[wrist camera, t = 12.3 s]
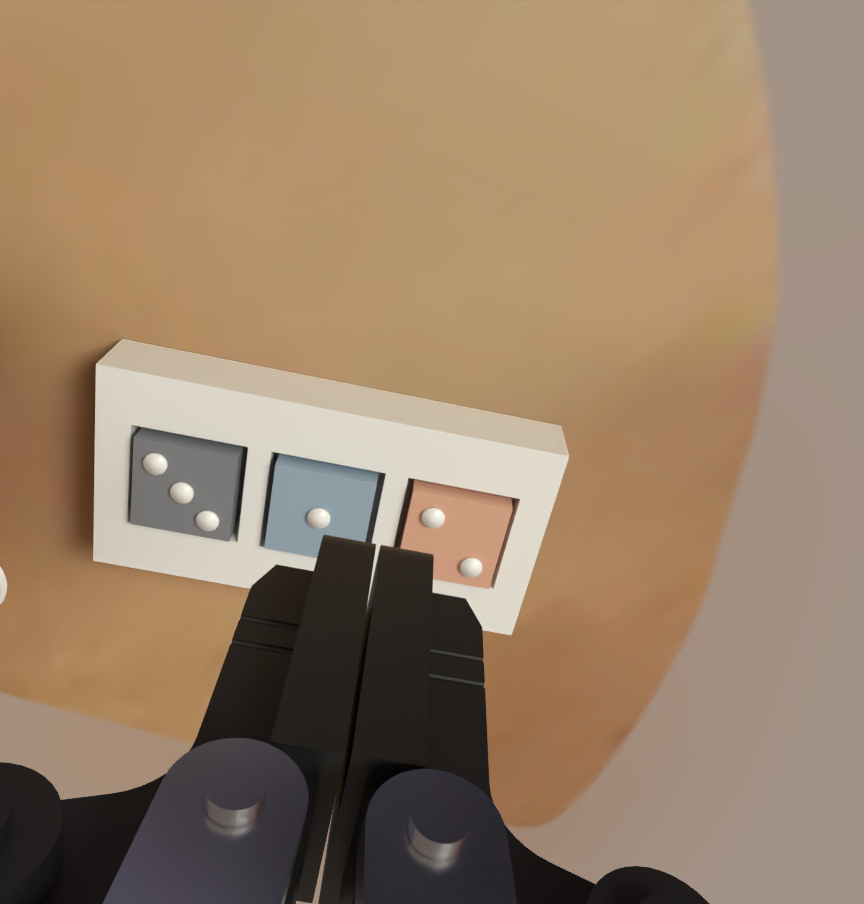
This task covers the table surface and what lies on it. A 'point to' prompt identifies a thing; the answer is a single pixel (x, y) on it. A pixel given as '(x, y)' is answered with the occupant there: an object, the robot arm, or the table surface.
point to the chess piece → (2, 585)
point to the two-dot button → (456, 530)
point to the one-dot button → (317, 504)
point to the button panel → (319, 438)
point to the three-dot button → (187, 484)
